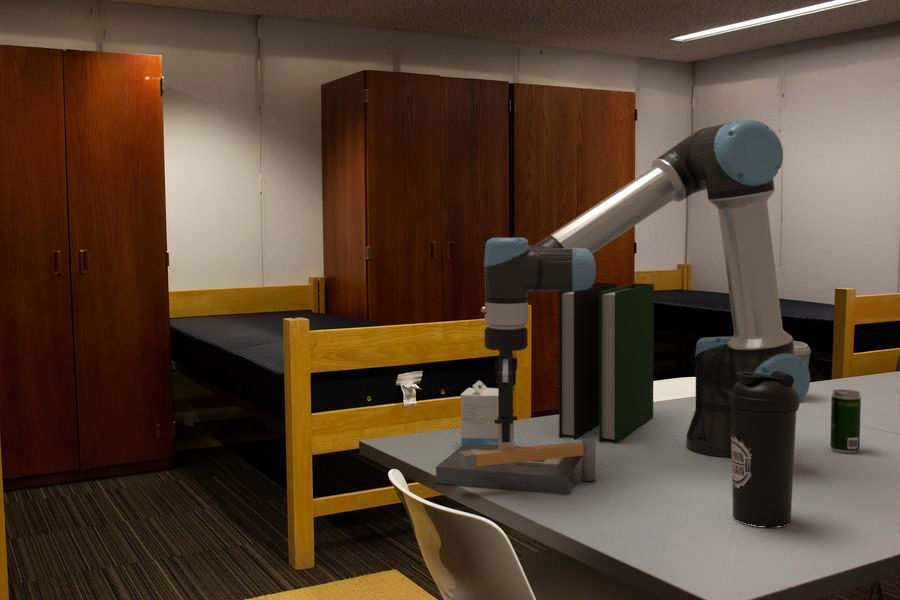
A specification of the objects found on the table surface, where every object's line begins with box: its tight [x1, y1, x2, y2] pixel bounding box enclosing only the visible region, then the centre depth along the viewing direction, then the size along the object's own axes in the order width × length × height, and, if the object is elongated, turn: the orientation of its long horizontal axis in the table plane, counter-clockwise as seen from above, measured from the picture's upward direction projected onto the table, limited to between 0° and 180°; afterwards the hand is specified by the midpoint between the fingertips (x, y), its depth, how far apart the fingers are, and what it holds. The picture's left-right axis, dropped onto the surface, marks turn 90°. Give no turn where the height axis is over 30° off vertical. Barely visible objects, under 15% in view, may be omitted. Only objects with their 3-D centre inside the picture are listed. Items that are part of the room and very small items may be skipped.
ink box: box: [460, 380, 499, 446], centre depth 181 cm, size 9×8×13 cm
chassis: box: [435, 443, 582, 495], centre depth 160 cm, size 24×18×4 cm
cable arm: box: [459, 437, 596, 482], centre depth 152 cm, size 25×3×7 cm, turn 108°
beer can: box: [829, 389, 862, 455], centre depth 173 cm, size 5×5×12 cm
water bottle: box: [729, 371, 800, 527], centre depth 134 cm, size 10×10×23 cm
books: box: [558, 282, 655, 445], centre depth 195 cm, size 27×15×32 cm, turn 152°
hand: (505, 458), depth 153 cm, fingers closed
